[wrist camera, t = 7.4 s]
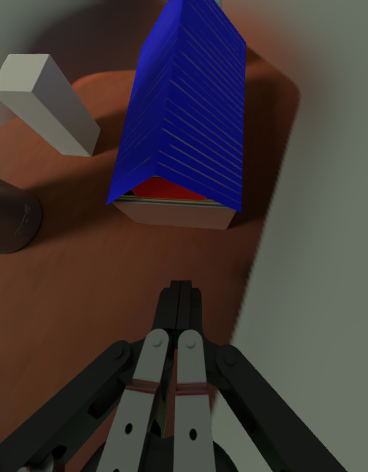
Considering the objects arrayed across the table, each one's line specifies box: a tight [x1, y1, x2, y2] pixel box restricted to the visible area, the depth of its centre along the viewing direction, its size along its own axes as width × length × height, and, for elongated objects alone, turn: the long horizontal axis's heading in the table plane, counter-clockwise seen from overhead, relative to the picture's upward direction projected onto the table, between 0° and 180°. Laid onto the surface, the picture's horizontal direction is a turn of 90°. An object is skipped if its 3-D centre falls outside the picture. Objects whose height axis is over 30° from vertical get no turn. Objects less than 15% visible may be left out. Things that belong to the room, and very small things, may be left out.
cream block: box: [0, 54, 101, 157], centre depth 21 cm, size 5×5×9 cm
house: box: [106, 0, 246, 230], centre depth 17 cm, size 12×20×12 cm, turn 174°
